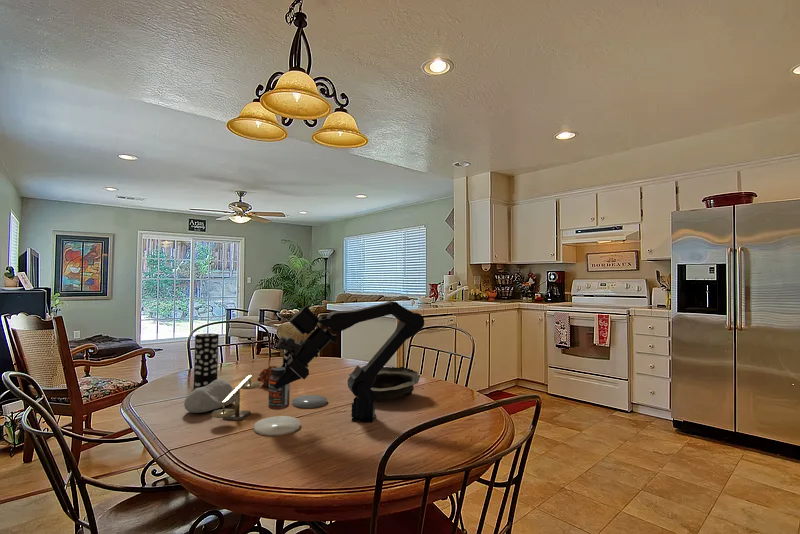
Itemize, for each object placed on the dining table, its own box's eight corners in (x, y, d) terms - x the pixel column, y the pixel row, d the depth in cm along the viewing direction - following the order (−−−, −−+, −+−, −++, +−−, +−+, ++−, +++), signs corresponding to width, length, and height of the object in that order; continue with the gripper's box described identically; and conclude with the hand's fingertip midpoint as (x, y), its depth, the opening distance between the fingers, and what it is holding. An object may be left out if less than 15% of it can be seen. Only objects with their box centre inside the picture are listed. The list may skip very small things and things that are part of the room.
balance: (262, 406, 140) (263, 373, 140) (227, 430, 118) (228, 391, 118) (245, 405, 140) (245, 372, 141) (206, 428, 119) (207, 389, 119)
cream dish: (307, 421, 127) (307, 417, 127) (289, 437, 114) (290, 433, 114) (266, 418, 128) (266, 414, 128) (245, 433, 116) (245, 430, 116)
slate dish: (331, 398, 150) (331, 396, 150) (320, 409, 138) (320, 406, 138) (299, 396, 151) (299, 394, 152) (286, 406, 140) (286, 403, 140)
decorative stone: (218, 391, 147) (229, 370, 144) (236, 411, 143) (247, 389, 140) (172, 408, 131) (183, 385, 128) (191, 431, 128) (202, 408, 125)
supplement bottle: (264, 410, 119) (265, 370, 119) (272, 403, 125) (273, 365, 125) (285, 411, 118) (285, 371, 118) (292, 404, 124) (292, 366, 124)
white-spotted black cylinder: (193, 384, 165) (195, 333, 165) (216, 382, 169) (218, 333, 169) (193, 389, 158) (195, 336, 158) (217, 387, 161) (218, 336, 161)
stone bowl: (421, 388, 166) (422, 365, 165) (417, 413, 141) (418, 386, 141) (360, 384, 168) (361, 362, 168) (346, 408, 144) (347, 382, 143)
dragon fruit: (279, 393, 161) (260, 392, 168) (292, 376, 167) (273, 376, 174) (267, 377, 158) (248, 377, 165) (281, 361, 164) (262, 361, 171)
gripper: (290, 323, 132) (253, 360, 128) (297, 330, 114) (254, 374, 110) (315, 346, 134) (279, 383, 130) (325, 357, 117) (284, 400, 113)
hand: (274, 384), depth 121 cm, fingers closed on supplement bottle, 6 cm apart
